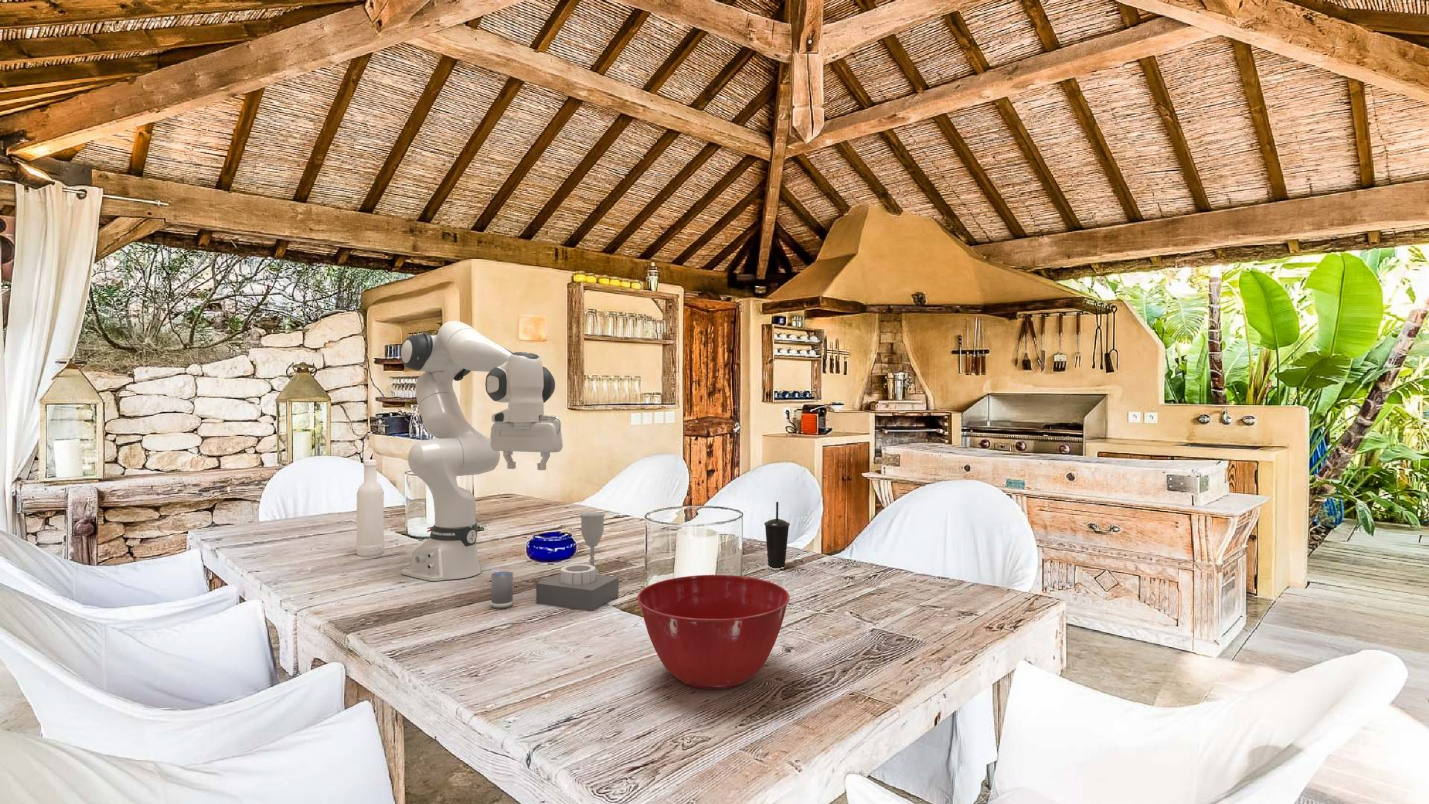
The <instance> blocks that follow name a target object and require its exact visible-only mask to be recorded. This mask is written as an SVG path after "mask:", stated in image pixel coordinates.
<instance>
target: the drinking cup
mask: <svg viewBox="0 0 1429 804" xmlns="http://www.w3.org/2000/svg"><path fill="white" fill-rule="evenodd" d="M790 525H791V524H790V522H788V521H786V520H784V519H782V518H779V501H776V503H775V518H771V519H769V520H768V521H765V522H764V527H765V528H764V529H765V540H766V553H767V554H766V555H767V567H768V566H770V567H772V568H781V567H784V566H785V567H786V560H787V559H786V556H787V547H788V537H789V529H790Z"/></svg>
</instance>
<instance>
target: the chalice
mask: <svg viewBox="0 0 1429 804" xmlns="http://www.w3.org/2000/svg"><path fill="white" fill-rule="evenodd" d="M578 515H579V517H580V519H581V522H580V524H581V525H580V526H581V527H580V532H581V535H582V538H583V540H584V541H585V545H586V546H587V547H589V549H590V551H589V556H590V559H589V560H588V561H589V563H590V564H589V565H592V566H595V562H596V559H595V555H596V553H595V548H596V547H597V546H598V545H599V543H600V541H601V538H602V537H603V533H604V525H605V524H604V519H605V516H606V513H605V512H600V511H599V512H598V511H597V512H596V511H591V512H590V511H589V512H588V511H587V512H582V513H578ZM595 575H601V573H600V571H599V569H598V568H595Z"/></svg>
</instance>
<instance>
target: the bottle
mask: <svg viewBox="0 0 1429 804" xmlns="http://www.w3.org/2000/svg"><path fill="white" fill-rule="evenodd" d="M377 466H378V463H377V460H376V459H365V460H364V461H363V483H362V484H360V485H359V486H358V489H357V492H356V556H358V557H374V556H379V555H383V554H384V548H385V543H384V541H385V540H384V539H385V538H384V537H385V534H384V531H385V527H384V523H385V522H384V517H385V516H384V513H385V512H384V510H385V509H384V505H385V504H384V502H385V501H384V499H385V498H384V497H385V496H384V489H383V487H382V485H381V484H380V483H379V482H378V481H377V477H378V476H377Z"/></svg>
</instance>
